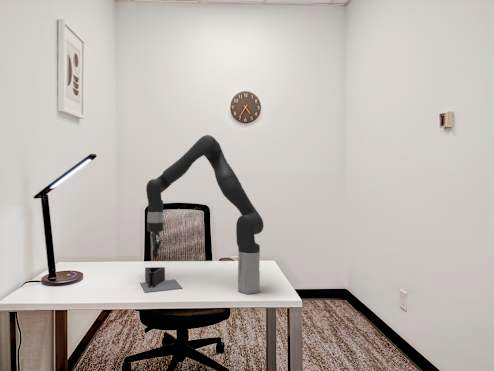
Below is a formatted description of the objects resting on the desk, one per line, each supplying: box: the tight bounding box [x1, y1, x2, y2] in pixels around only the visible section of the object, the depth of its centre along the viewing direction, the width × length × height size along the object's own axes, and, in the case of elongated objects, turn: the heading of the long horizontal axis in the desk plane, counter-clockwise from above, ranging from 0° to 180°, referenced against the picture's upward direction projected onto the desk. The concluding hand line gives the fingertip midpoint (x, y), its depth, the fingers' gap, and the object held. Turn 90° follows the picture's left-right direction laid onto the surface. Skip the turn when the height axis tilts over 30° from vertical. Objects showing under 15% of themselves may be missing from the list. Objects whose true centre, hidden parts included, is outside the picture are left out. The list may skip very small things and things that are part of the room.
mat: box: [140, 279, 183, 294], centre depth 165 cm, size 14×16×1 cm
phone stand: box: [144, 266, 166, 288], centre depth 167 cm, size 9×6×12 cm
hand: (155, 257), depth 176 cm, fingers closed
